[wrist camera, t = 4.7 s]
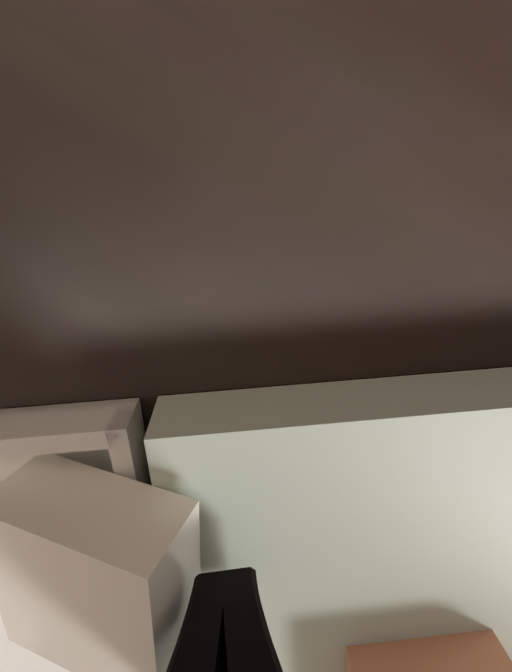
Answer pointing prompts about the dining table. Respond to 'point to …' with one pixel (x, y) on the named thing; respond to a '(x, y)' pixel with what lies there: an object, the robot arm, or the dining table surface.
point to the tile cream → (95, 566)
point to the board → (352, 504)
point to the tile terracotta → (431, 654)
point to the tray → (78, 445)
